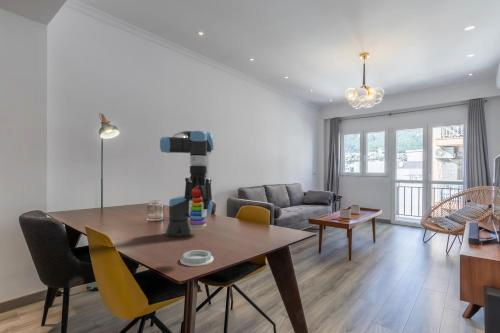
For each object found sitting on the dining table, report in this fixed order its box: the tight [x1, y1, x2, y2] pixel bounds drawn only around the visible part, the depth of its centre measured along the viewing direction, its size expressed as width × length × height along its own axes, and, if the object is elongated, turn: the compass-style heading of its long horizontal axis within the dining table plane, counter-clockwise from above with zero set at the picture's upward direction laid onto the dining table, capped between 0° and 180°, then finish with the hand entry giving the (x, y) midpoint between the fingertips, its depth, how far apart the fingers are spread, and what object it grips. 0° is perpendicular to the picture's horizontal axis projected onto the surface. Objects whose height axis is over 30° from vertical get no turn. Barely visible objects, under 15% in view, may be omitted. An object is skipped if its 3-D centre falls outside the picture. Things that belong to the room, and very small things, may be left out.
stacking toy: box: [188, 187, 207, 230], centre depth 120 cm, size 8×8×19 cm
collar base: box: [179, 249, 215, 267], centre depth 121 cm, size 15×15×3 cm
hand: (197, 215), depth 120 cm, fingers closed on stacking toy, 7 cm apart
